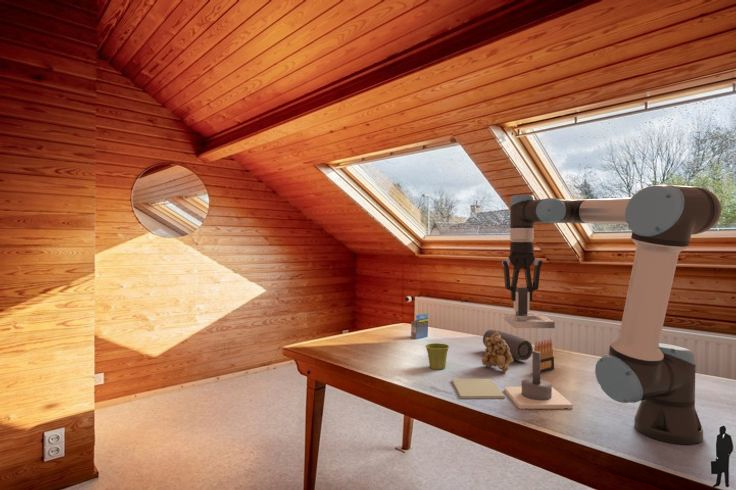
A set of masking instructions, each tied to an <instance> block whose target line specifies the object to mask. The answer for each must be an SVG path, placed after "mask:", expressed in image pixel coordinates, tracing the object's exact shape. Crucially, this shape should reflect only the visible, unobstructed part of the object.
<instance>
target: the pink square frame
mask: <svg viewBox="0 0 736 490" xmlns="http://www.w3.org/2000/svg"><path fill="white" fill-rule="evenodd" d="M516 291H517V292H518V311H515V314H513V313H512V314H511V313H510V314H509V313H508V314H504V322H505V323H507V324H509V325H510V326H512V327H513V328H514V329H555V328H556V325H555V324H556V322H555V321H554V320H552V319H550V318H549V317H547V316H545V315H543V314H542V313H541V314H539V313H538V314H534V313H533V314H530V313H529V314H528V311H527V292H528V288H527V286H517V288H516Z"/></svg>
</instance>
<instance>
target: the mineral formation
mask: <svg viewBox="0 0 736 490" xmlns="http://www.w3.org/2000/svg"><path fill="white" fill-rule="evenodd" d="M485 341H486V342H484V343H483V345H484V344H485V345H484V346H485V348H484V350H485V351H484V355H483V356H482V359H481V363H482V365H483V366H485V367H496V366H498V369H499V370H501V371H502V373H507V371H509V366H510V364H511V363H514V360H513V358H512V356H511V353H510V349H509V346H508V345H507V343H505V340H503V339H501V335H500V334H499V333H498V332H495V333H494V334H492V335H491V337H490V338H485Z"/></svg>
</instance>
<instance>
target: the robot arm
mask: <svg viewBox="0 0 736 490" xmlns="http://www.w3.org/2000/svg"><path fill="white" fill-rule="evenodd" d="M509 211H510V212H509V214H510V215H509V218H510V220H509V223H510V224H509V226H510V229H509V232H510V236H509V239H510V243H509V256H508V258H506V259H505V260H503V259H502V260H501V262H500V263H501V265H502V268H503V276H504V288H505V289H506V290H508V291H510V300H511V301H512V302H513V311H515V312H516V311H518V292H517V291H516V288H517V287H518V281H519V280H518V279H519V275H520V274H519V273H520V271H521V270H522V269H523V272H524V278H525V284H526V286H525V287H527V288H528V292H527V312H530V302H532V301H533V292H534V291H537V290H539V284H540V275H541V267H542V265H543V264H544V263H543V260H539V259H537V258H536V257H535V254H534V253H535V245H534V244H535V243H534V242H533V241H534V240H535V229H534V228H535V224H601V225H604V224H605V225H610V224H611V225H627V227H628V229H629V230H631V237H630V239H631V241H632V242H633V243H634V245H636V246H635V247H636V248H635V253H634V259H633V262H632V263H633V264H632V269H631V274H630V277H629V284H628V287H627V288H628V289H627V293H626V294H627V295H626V299H625V304H624V309H623V313H622V317H621V318H622V319H621V325H620V330H619V335H618V337H617V338H615V339H612V340H611V341H610V343H609V348H608V353H607V355H603V356H602V357H600V358H599V359H598V360H597V361H596V364H595V369H594V373H595V377H596V381H597V384H599V385H600V389H601V390H602V391H603V393H604V394H605V395H607V397H608V398H610V399H612V400H613V401H615V402H617V403H622V404H629V403H632V404H636V403H639V404H638V408H637V410H636V413H635V415H634V423H633V424H634V428H635V429H636V430H637V431H638V432H639V433H640V434H642V435H645V436H646V437H649V438H652V439H654V440H658V441H661V442H665V443H670V444H674V445H675V444H676V445H697V444H700V443H702V442H703V441H704V428H703V427H702V424H701V423H702V422H701V420H700V417H699V415H698V412H697V410H696V367H697V364H696V357H695V356H696V355H695V353H694V351H693V350H691V349H688V348H685V347H682V346H677V345H674V344H669V343H668V344H667V343H661V342H660V341H661V336H662V330H663V328H664V323H665V318H666V313H667V309H668V305H669V301H670V295H671V291H672V287H673V282H674V277H675V273H676V267H677V265H678V264H677V263H678V259H679V255H680V253H681V252H682V251H685V250H686V249H688V248H689V246H690V241H691V238H692V237H691V236H693V235H699V234H702V233H705V232H708V231H709V230H711V229H712V228H713V227H715V225H717V223H718V221H719V220H720V218H721V215H722V204H721V201H720V199H719V197H718V196H717V195H715V193H714V192H713V191H711V190H709V189H707V188H705V187H701V186H696V185H695V186H693V185H675V184H674V185H673V184H668V183H667V184H655V185H649V186H645V187H643V188H641V189H639V190H638V191H636V192H634V194H633V195H632V196H631V197H622V198H621V197H618V198H597V199H596V198H591V199H560V198H554V197H551V198H550V197H546V198H542V199H541V198H540V199H535V197H534V195H533V194H515V195H512V196H511V198H510V207H509ZM510 263H511V265H512V266H513V267H512V268H513V269H512V270H513V271H512V276H511V275H510V273H511V272H510ZM532 265H534V266H533V278H532V275H531V266H532ZM511 277H512V278H511Z"/></svg>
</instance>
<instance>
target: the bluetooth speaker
mask: <svg viewBox="0 0 736 490" xmlns="http://www.w3.org/2000/svg"><path fill="white" fill-rule="evenodd" d="M495 332H498V333H499V334H500V335H501V339H503V340H505V343H507V345H508V346H509V349H510V353H511V356H512V358H513V361H515V360H520V361H527V360H529V359H530V358H532V352H533V351H534V348H533V346H532V342H530V341H529V340H527V339H525V338H522V337H519V336H518V335H517V336H516V335H514V334H511V333H508V332H504V331H500V330H497V329H488V330H486V331H485V333H484V334H483V336H482V343H483V346H485V344H484V342H486V341H485V338H490V337H491V335H492V334H494V333H495Z"/></svg>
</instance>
